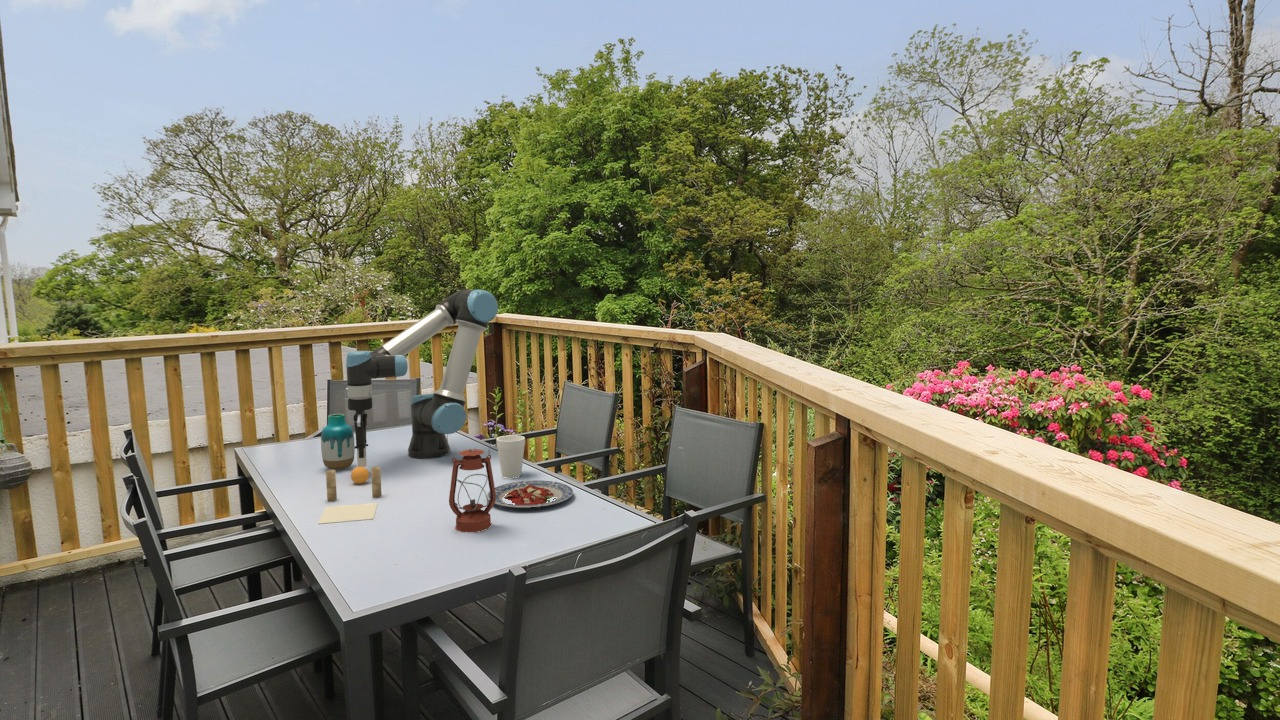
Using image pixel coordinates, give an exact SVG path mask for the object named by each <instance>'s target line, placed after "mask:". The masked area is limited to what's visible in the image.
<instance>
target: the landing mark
mask: <svg viewBox="0 0 1280 720" xmlns="http://www.w3.org/2000/svg"><path fill="white" fill-rule="evenodd" d="M377 506H378V502H372V503H362V504H349V505H336V506H326V507H325V508H324V510H323V513H322V514H321V516H320V519H319V520H318V523H317V525H323V524H336V523H347V522H355V521H356V522H358V521H368V520H369V521H370V520H374V518H375V514H376V510H377Z"/></svg>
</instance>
